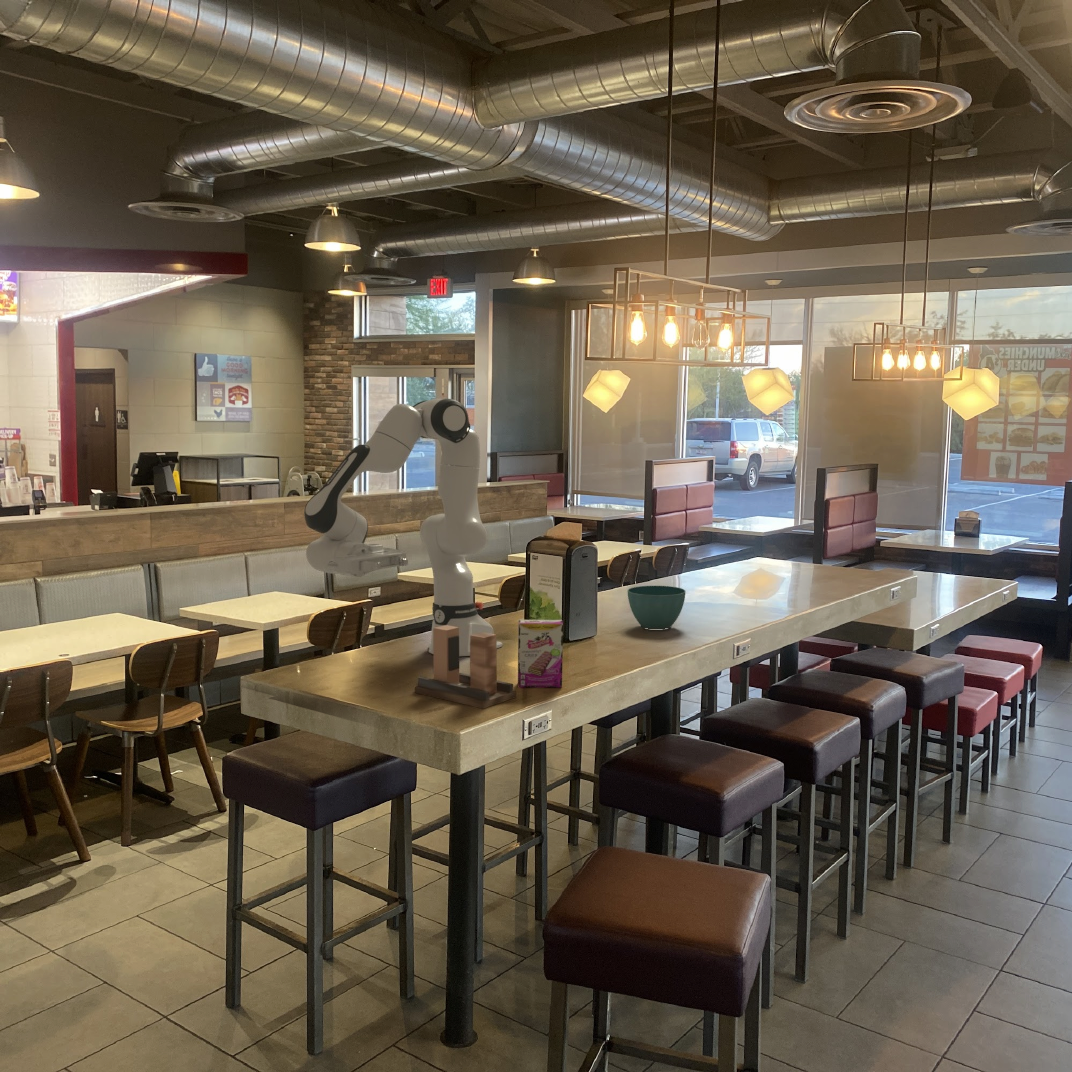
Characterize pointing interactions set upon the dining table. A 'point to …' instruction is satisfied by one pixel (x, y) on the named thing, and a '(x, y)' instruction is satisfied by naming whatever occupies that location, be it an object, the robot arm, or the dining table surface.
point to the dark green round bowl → (656, 605)
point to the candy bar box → (540, 653)
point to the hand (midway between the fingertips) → (392, 564)
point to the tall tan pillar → (446, 653)
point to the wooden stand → (473, 678)
